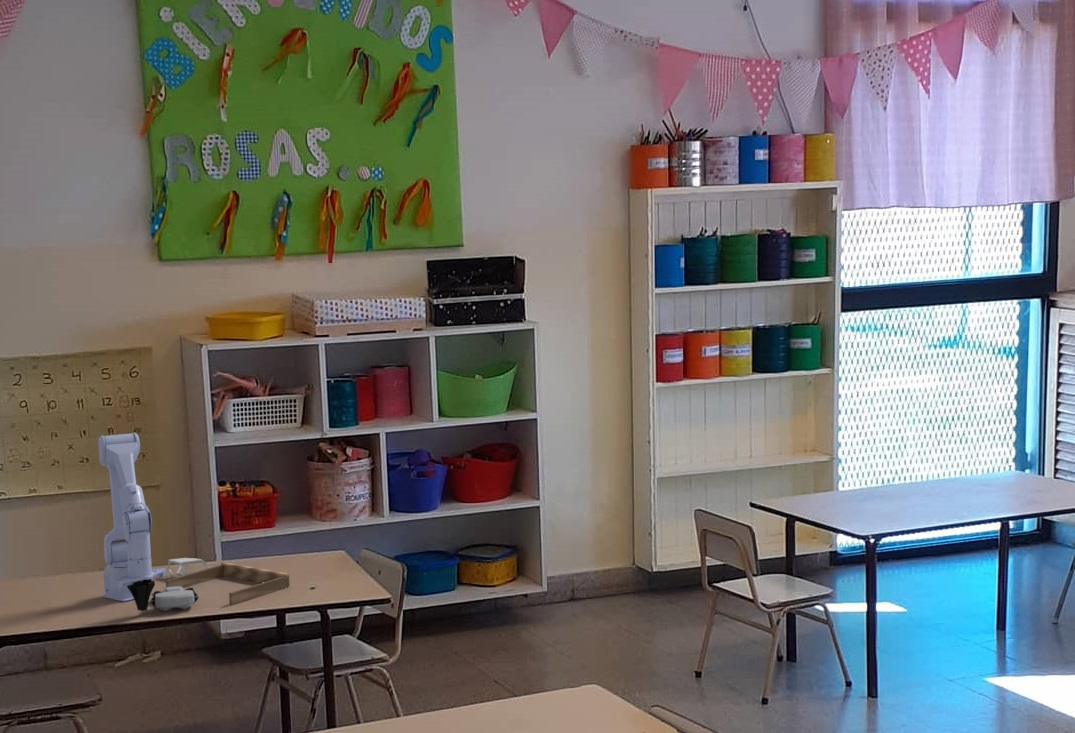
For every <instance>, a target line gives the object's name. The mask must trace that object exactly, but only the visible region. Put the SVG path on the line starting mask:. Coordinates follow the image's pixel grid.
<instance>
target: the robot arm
mask: <svg viewBox="0 0 1075 733" xmlns="http://www.w3.org/2000/svg"><path fill="white" fill-rule="evenodd" d="M139 437H140V436H139V435H138V434H137V433H136V432H131V433H123V434H122V433H121V434H111V435H100V436H99V438H98V441H97V442H98V443H97V445H98V446H97V447H98V457H99V458H98V459H99V463H100V466H102V467H106V469H107V471H108V476H109V487H110V499H111V509H112V521H113V522H112V523H113V528H112V529H111V530H109V532H108V533H106V534H105V535H104V538H103V556H104V561H105V563H106V564H107V565H106V566H105V567H104V570H103V582H104V583H103V584H104V586H103V587H104V594H102V596H101V597H102V598H105V599H109V600H114V601H119V602H124V603H125V602H128V601H132V600H134V602H135V605H136V608H137V610H138V611H141V612H144V611H147V610H148V606H149V602H150V597H151V594H152V593H153V589H154V587H155V586H156V585H155V584H156V582H155V581H154V579H156V578H160V577H163V578H164V577H166V576H167V572H166V571H167V570H166V568H164V567H159V568H152V566H153V565H152V555H151V554H152V553H151V535H150V534H151V533H150V532H151V531H152V529H153V527H152V526H153V518H152V515H151V511H150V509H149V507H148V505H146V500H145V496H144V493H143V488H142V487H141V486H140V485H138V484H137V479H136V471H135V470H136V469H135V463H136V461H137V460H138V457H139V454H140V451H141V444H140V438H139Z"/></svg>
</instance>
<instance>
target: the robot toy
mask: <svg viewBox="0 0 1075 733" xmlns="http://www.w3.org/2000/svg"><path fill="white" fill-rule="evenodd" d="M150 596H152V598H150V599H149V603H150V604H151V605H152V606H153V607H155V608H156V609H159V610H160V611H161V612H168V611H170V610H171V609H172V608H173V609H174V608H179V609H180V610H186V609H188V608H190V607H191V605H194V604H195V603H196V602H197V601H198V599H199V598H200V594H197V592H196V588H193V587H188V588H186V589H184V588H182V587H181V586H175V587H167V588H166V587H165V588H164V590H163V591H160V590H156V591H154V592H151V594H150Z"/></svg>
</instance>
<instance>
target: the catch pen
mask: <svg viewBox="0 0 1075 733" xmlns="http://www.w3.org/2000/svg"><path fill="white" fill-rule="evenodd" d="M228 576H229V577H230V578H233V577H234V579H239V578H240V580H244V579H246V580H245V581H249V580H252V581H251V582H255V581H258V582H257V584H254V585H251V586H247V587H245V588H242V589H238V590H235V591H232V592H229V593H228V596H229V597H228V598H229V600H228V601H229V605H230V606H233V605H237V604H240V603H243V602H246V601H249V600H253V599H256V598H259V597H262V596H265V595H267V594H266V593H268V594H271V593H270V592H272V593H274V592H273V591H275V592H277V591H276V590H278V589H281V590H283V589H282V588H284V589H286V588H285V587H287V588H289V587H288V586H290V587H291V585H290V584H291V583H290V573H288V572H287V573H286V572H280V571H277V570H270V569H264V568H261V567H253V566H249V565H242V564H238V563H231V562H227V561H226V562H225V561H222V562H220V565H219V564H218V565H216V566H212V567H209V568H205V569H202V570H199V571H195V572H192V573H187V575H185V574H183V576H180V575H179V576H177V577H174V578H171V579H167V580H165V588H167V587H175V586H181V587H182V588H183V589H184V588H187V587H188V588H189V587H190V586H194V585H197V584H200V583H204V582H207V581H211V580H214V579H218V578H221V577H228ZM229 577H228V578H229ZM260 582H264V583H260ZM278 591H279V590H278ZM264 594H265V595H264ZM261 595H262V596H261Z"/></svg>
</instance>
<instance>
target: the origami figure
mask: <svg viewBox="0 0 1075 733" xmlns="http://www.w3.org/2000/svg"><path fill="white" fill-rule="evenodd" d="M172 563H173V564H177V565H179V566H178V567H177V570H176V572H175V574H176V575H178V576H179V577H180V576H184V575H187V574H188V569H189V568H188V566H189V565H190V564H198V563H202V564H203V565H204V566H205V567H206V569H208V568H210V567H209V565H208V564H207V563H206V561H205V560H204V559H200V558H195V557H194V558H193V557H191V558H190V557H183V558H182V557H180V558H172V559H168V562H167V570H168V571H169V573H170V577H173V575H174V573H173V572H172V570H171V569H170V568H171V564H172ZM183 566H184V573H185V574H182V573H181V571H182V568H183Z"/></svg>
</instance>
